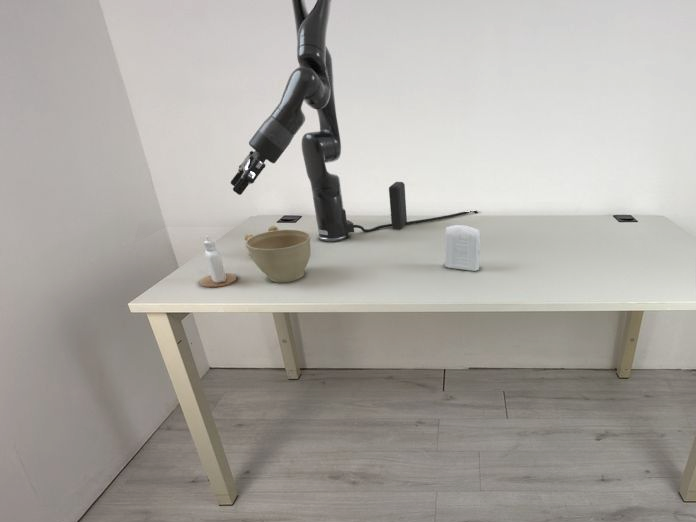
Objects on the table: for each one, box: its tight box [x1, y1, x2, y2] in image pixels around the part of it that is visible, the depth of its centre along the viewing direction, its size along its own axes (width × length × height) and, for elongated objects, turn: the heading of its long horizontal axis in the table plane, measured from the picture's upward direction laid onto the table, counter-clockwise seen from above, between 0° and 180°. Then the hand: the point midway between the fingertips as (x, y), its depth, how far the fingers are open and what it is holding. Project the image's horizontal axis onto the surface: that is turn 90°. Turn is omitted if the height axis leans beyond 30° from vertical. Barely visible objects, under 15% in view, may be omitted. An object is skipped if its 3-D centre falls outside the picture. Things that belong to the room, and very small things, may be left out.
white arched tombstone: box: [444, 224, 481, 272], centre depth 134 cm, size 10×4×12 cm, turn 73°
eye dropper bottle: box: [203, 235, 226, 283], centre depth 125 cm, size 4×6×12 cm
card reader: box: [388, 181, 408, 230], centre depth 169 cm, size 9×4×15 cm, turn 172°
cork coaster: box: [199, 273, 237, 289], centre depth 128 cm, size 9×9×1 cm
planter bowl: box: [245, 229, 312, 283], centre depth 128 cm, size 16×16×11 cm
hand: (234, 189), depth 123 cm, fingers open, 8 cm apart
